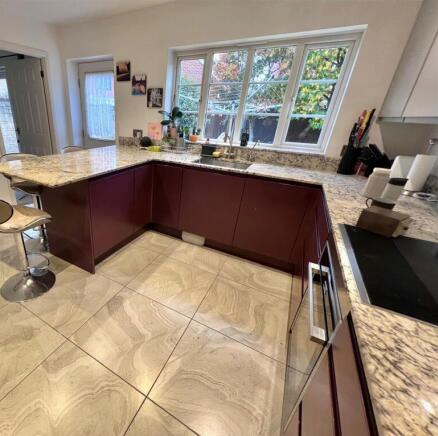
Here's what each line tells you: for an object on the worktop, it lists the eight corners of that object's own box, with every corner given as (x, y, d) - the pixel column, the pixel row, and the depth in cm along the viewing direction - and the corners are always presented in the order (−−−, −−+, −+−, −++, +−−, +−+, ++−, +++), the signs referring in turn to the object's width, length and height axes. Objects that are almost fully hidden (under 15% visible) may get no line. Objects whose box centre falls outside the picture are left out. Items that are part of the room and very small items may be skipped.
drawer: (408, 233, 101) (416, 219, 98) (399, 238, 96) (407, 224, 93) (372, 222, 111) (378, 209, 108) (362, 226, 106) (368, 212, 103)
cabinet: (400, 232, 103) (410, 215, 100) (390, 238, 98) (400, 220, 95) (366, 221, 113) (374, 205, 110) (355, 226, 108) (362, 209, 104)
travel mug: (392, 218, 119) (412, 180, 110) (376, 216, 121) (395, 178, 112) (385, 213, 124) (404, 177, 116) (370, 211, 126) (388, 175, 118)
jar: (382, 200, 145) (396, 171, 137) (362, 197, 150) (374, 169, 142) (378, 196, 152) (391, 169, 145) (359, 193, 157) (371, 166, 150)
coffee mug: (390, 223, 112) (400, 204, 108) (368, 220, 115) (378, 201, 110) (378, 214, 122) (387, 197, 118) (358, 212, 125) (366, 194, 120)
